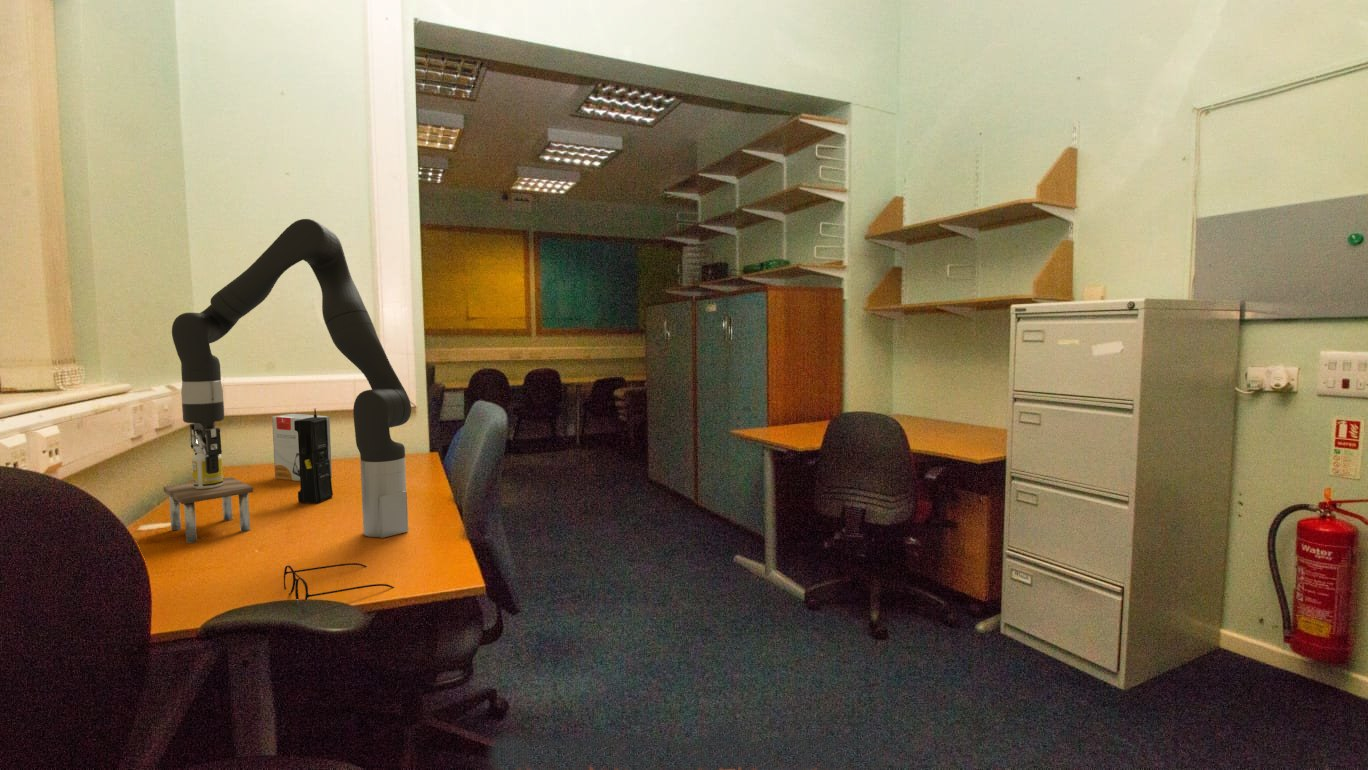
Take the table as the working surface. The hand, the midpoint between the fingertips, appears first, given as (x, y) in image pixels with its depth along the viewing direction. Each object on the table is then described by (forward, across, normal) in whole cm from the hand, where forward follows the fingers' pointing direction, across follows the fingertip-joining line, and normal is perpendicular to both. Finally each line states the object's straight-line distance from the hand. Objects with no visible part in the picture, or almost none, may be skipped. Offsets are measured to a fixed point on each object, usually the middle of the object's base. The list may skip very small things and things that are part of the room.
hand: (207, 470), depth 142 cm
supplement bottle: (+4, 0, 0) cm, 4 cm away
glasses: (+15, -57, -6) cm, 59 cm away
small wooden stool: (+14, 0, 0) cm, 14 cm away
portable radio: (+14, +9, -26) cm, 31 cm away
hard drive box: (+14, +40, -34) cm, 54 cm away
